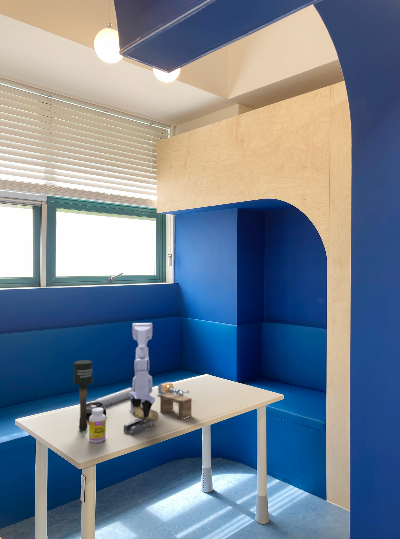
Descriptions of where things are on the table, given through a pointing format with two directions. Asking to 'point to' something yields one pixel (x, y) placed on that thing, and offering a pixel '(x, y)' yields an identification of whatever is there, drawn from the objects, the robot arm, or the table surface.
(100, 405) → the cpu cooler
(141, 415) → the brass cylinder
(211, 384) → the table surface
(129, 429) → the v block
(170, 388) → the vise
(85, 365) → the stick grenade
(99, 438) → the supplement bottle
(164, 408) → the wooden bridge block
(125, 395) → the tube
